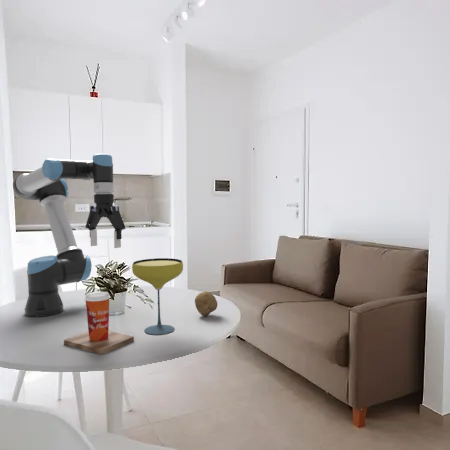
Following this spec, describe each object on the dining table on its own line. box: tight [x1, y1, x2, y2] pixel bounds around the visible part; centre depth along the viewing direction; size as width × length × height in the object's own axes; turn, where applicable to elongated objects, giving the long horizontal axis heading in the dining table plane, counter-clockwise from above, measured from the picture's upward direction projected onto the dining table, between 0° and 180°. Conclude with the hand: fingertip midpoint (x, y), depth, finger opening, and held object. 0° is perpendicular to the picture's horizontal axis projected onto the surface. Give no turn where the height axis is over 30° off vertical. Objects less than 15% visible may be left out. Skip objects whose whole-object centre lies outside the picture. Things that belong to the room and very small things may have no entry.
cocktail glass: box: [131, 257, 184, 336], centre depth 149 cm, size 18×18×25 cm
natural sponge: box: [194, 291, 218, 317], centre depth 166 cm, size 9×9×10 cm
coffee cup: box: [84, 291, 112, 341], centre depth 137 cm, size 8×8×15 cm
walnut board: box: [63, 330, 135, 356], centre depth 137 cm, size 18×14×2 cm
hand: (105, 246), depth 164 cm, fingers open, 13 cm apart
